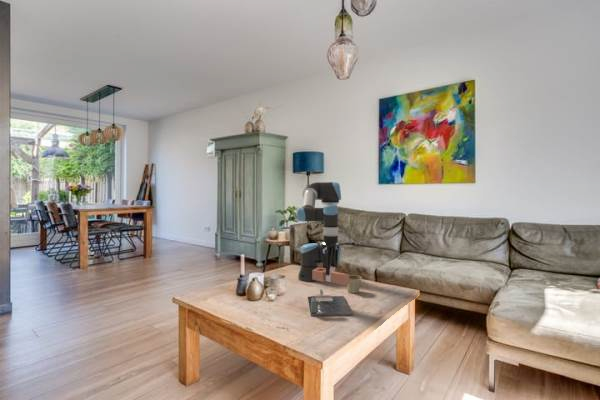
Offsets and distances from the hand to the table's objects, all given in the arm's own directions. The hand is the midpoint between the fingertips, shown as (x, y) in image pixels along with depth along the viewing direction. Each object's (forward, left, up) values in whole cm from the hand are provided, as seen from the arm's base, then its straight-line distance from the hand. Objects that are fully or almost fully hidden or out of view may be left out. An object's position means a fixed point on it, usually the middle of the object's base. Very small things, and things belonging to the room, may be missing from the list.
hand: (330, 280), depth 160 cm
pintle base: (+1, -1, -13) cm, 13 cm away
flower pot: (-21, +16, -13) cm, 30 cm away
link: (0, 0, 0) cm, 1 cm away
